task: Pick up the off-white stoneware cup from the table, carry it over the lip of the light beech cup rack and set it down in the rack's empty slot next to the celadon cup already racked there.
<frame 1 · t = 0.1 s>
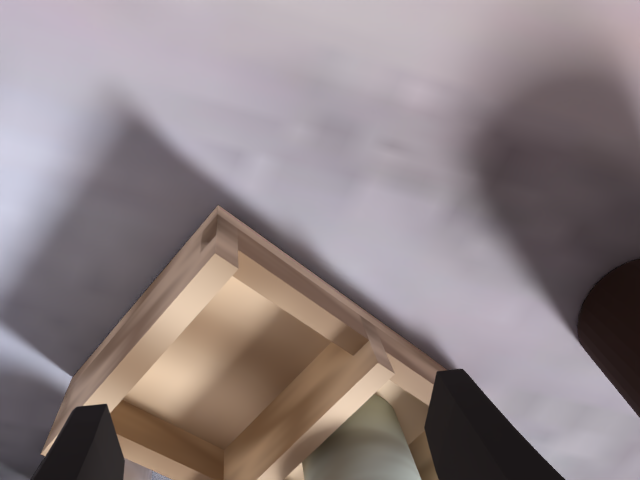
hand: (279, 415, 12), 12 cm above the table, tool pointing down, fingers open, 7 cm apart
rack: (287, 382, 26), on the table
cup: (100, 463, 27), on the table
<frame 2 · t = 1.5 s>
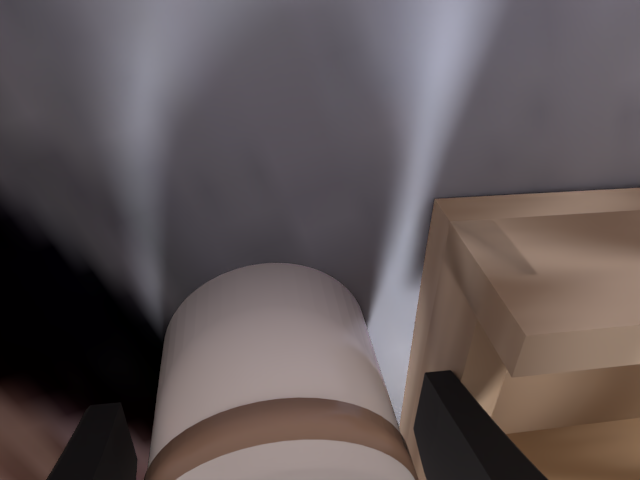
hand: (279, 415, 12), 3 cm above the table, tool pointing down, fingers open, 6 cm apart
rack: (553, 410, 18), on the table
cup: (266, 337, 14), on the table
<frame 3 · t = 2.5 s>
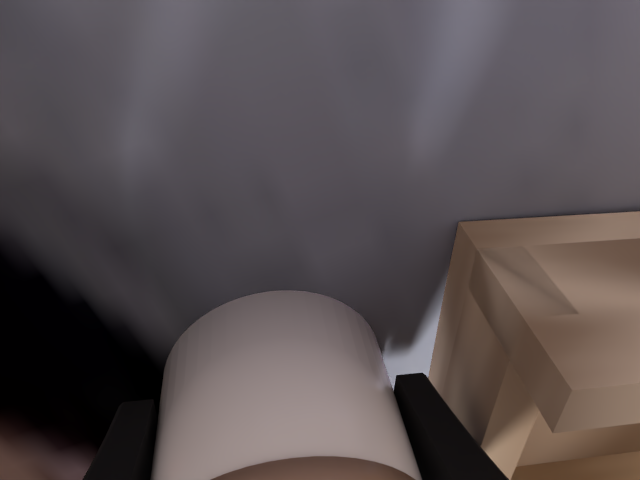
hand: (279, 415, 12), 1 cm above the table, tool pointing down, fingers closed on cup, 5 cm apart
rack: (575, 437, 17), on the table
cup: (274, 367, 13), on the table, touching gripper
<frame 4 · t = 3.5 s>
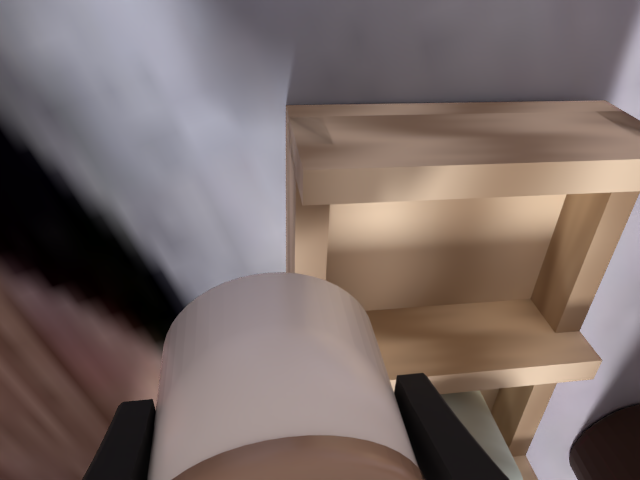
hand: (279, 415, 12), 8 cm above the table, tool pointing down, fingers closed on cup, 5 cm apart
rack: (416, 299, 22), on the table
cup: (271, 354, 13), point 7 cm above the table, touching gripper
coffee mug: (615, 453, 32), on the table
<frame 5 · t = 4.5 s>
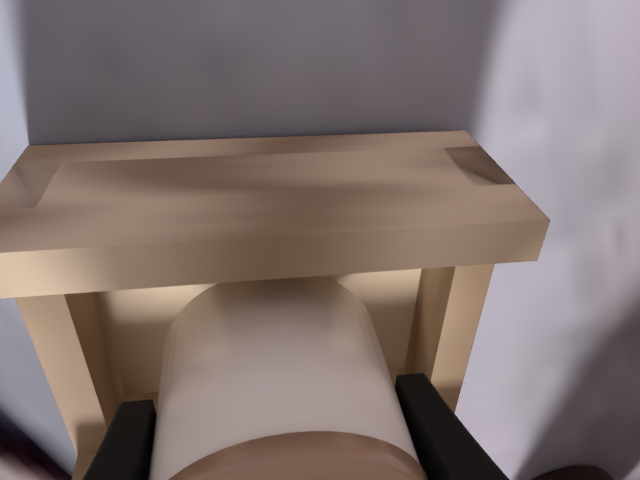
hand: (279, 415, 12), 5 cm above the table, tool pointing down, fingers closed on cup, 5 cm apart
rack: (268, 367, 18), on the table
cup: (272, 352, 13), point 3 cm above the table, touching gripper
when the fingers open (4 cm above the table, at t = 5.2 s): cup drops 1 cm, resting on rack.
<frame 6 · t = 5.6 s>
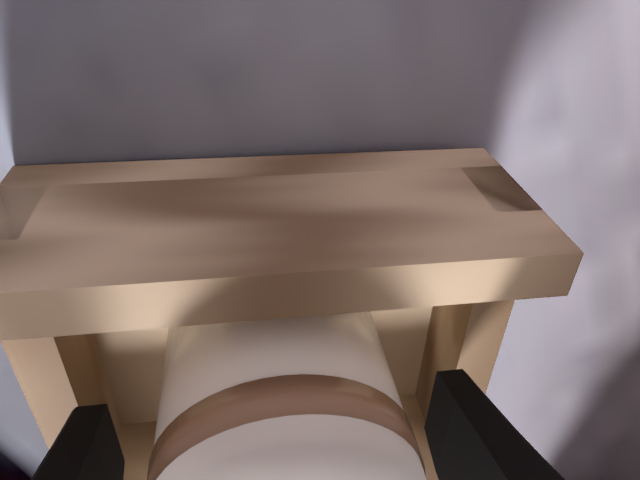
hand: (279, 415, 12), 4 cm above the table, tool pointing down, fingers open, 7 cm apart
rack: (271, 393, 17), on the table
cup: (270, 321, 14), point 1 cm above the table, touching rack
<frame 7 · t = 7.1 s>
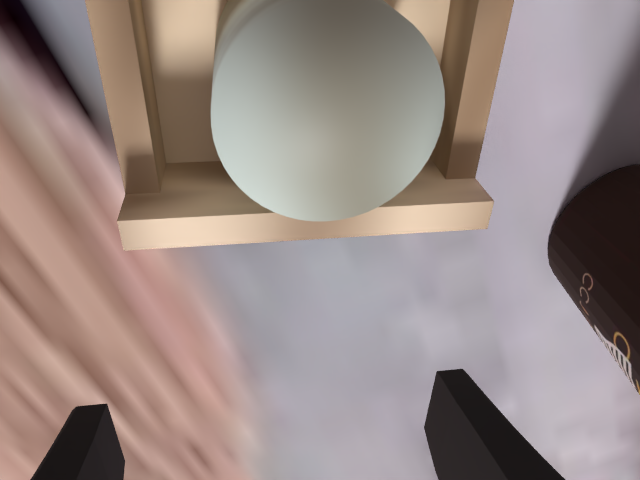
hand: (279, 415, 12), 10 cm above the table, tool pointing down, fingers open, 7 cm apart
coffee mug: (609, 254, 24), on the table
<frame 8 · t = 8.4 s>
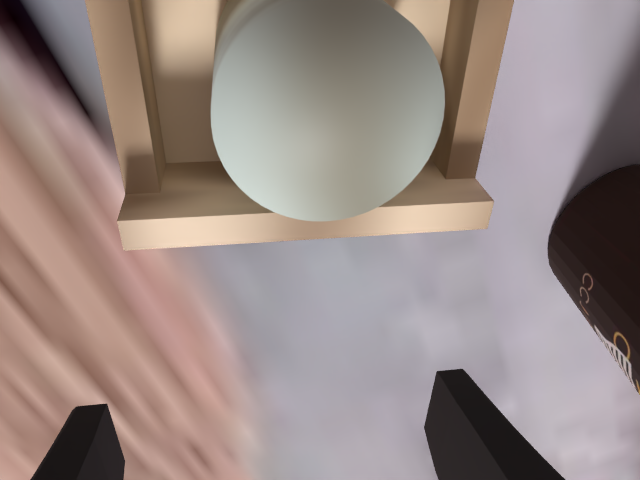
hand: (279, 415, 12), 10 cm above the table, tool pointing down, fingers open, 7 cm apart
coffee mug: (609, 254, 24), on the table
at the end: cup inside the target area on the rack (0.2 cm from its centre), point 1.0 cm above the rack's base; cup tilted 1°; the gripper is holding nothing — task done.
